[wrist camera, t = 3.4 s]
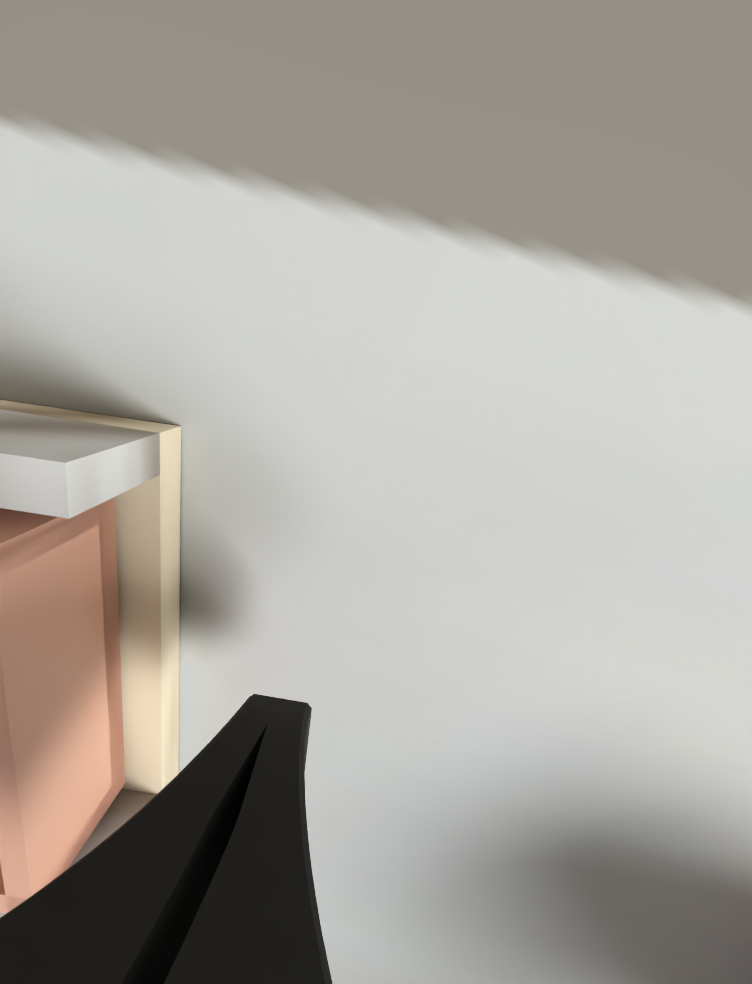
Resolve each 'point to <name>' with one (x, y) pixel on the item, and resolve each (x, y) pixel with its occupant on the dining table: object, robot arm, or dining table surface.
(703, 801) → the dining table surface
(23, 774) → the crate
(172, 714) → the bay
